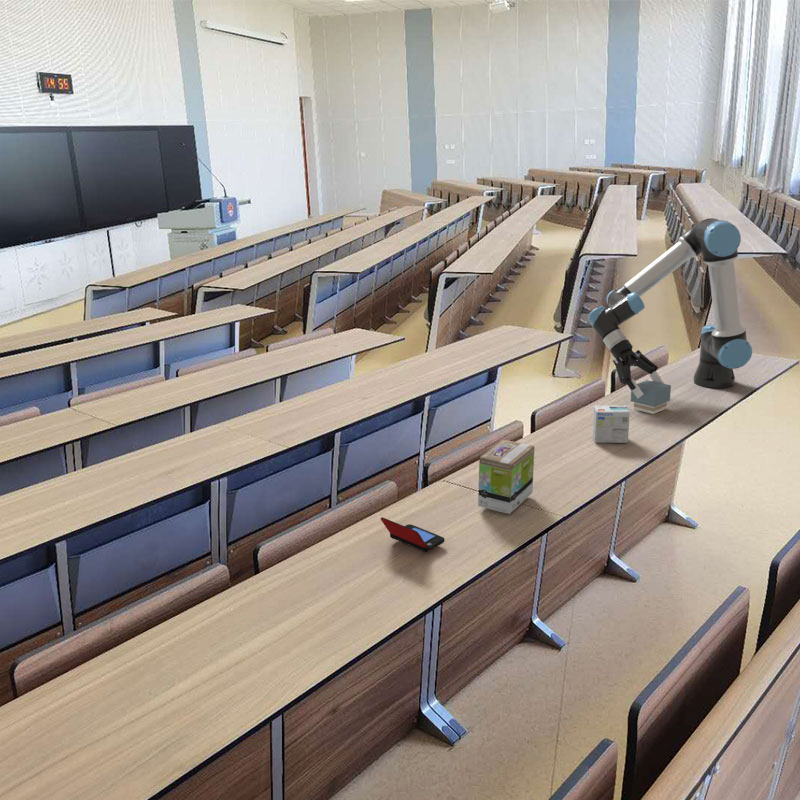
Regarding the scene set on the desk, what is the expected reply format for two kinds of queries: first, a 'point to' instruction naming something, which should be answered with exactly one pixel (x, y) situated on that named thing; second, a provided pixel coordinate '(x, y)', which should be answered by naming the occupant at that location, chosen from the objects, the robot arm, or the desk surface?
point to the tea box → (505, 476)
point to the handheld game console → (413, 535)
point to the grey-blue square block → (652, 393)
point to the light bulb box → (611, 424)
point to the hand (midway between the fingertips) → (651, 392)
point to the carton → (649, 408)
